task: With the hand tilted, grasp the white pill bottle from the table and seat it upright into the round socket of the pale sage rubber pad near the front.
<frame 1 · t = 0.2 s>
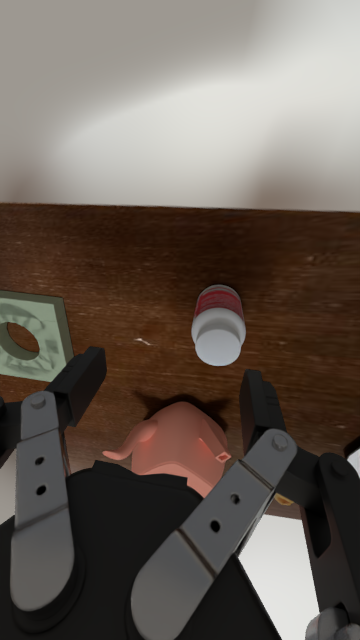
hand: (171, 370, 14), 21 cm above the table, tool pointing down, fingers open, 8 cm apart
pill bottle: (218, 303, 35), on the table
pastry: (289, 477, 51), on the table
socket pad: (27, 334, 43), on the table
teapot: (179, 424, 48), on the table
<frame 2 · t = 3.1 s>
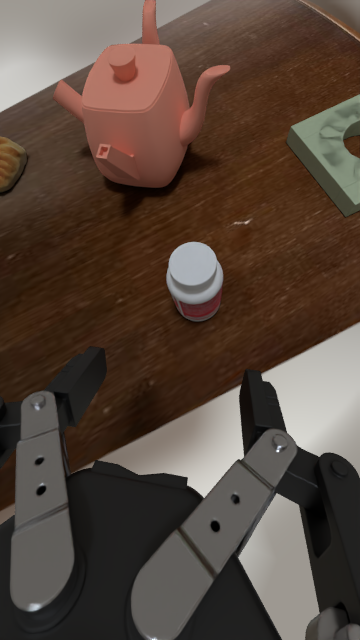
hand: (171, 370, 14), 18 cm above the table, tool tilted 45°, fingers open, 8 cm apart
pill bottle: (198, 301, 34), on the table
pastry: (11, 172, 45), on the table
teapot: (151, 157, 42), on the table
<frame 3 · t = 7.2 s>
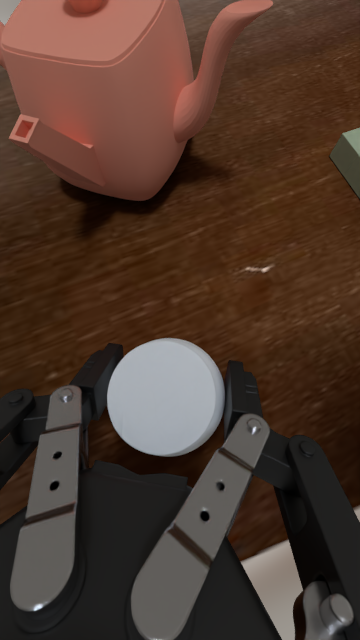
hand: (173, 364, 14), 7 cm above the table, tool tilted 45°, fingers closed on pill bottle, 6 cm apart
pill bottle: (177, 392, 21), on the table, touching gripper
teapot: (134, 155, 29), on the table
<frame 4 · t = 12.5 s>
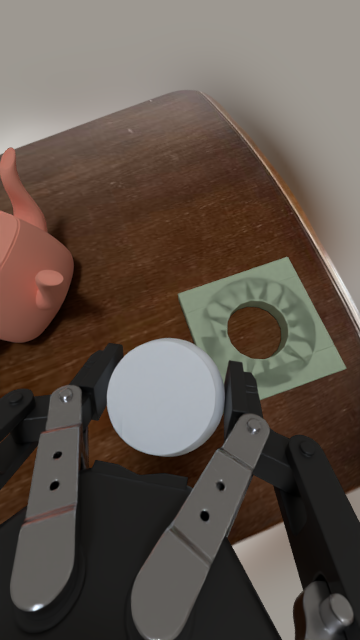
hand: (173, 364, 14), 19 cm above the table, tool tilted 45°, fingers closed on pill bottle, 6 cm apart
pill bottle: (177, 392, 21), point 11 cm above the table, touching gripper
socket pad: (252, 333, 33), on the table
teapot: (34, 290, 37), on the table
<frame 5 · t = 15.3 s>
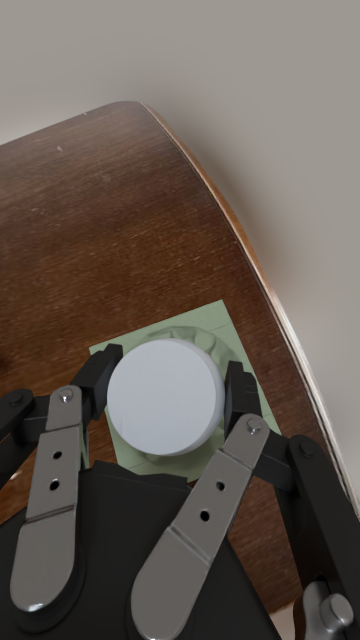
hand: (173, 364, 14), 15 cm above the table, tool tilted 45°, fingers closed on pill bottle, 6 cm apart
pill bottle: (177, 392, 21), point 7 cm above the table, touching gripper
socket pad: (181, 392, 28), on the table
when the fingers open (7 cm above the table, at t = 17.8 s): pill bottle stays where it is, resting in socket pad.
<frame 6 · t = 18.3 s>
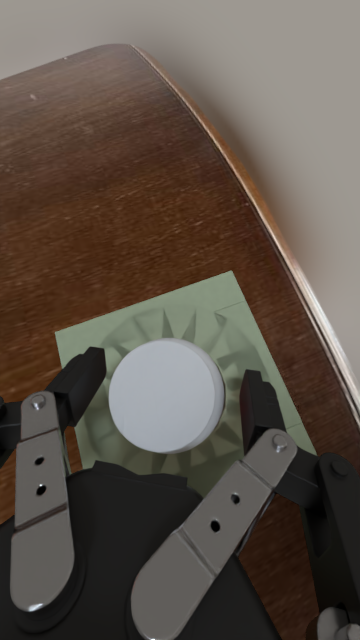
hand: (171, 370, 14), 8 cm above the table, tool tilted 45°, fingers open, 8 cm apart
pill bottle: (177, 391, 21), resting in socket pad
socket pad: (177, 392, 21), on the table
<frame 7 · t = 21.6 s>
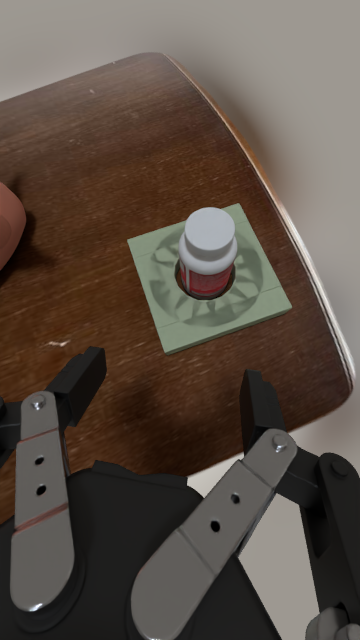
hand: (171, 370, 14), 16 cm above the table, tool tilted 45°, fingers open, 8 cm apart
pill bottle: (204, 280, 33), resting in socket pad
socket pad: (204, 280, 33), on the table
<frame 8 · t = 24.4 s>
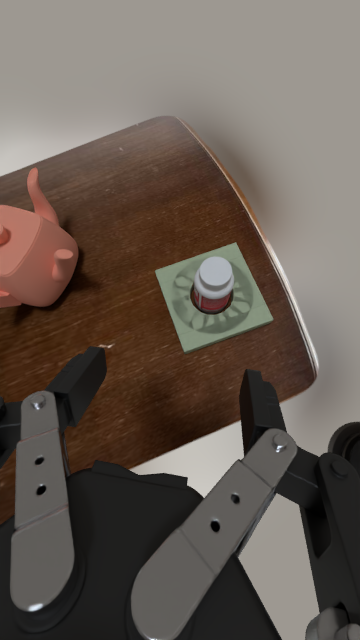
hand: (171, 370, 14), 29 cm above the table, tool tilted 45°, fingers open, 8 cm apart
pill bottle: (210, 299, 45), resting in socket pad
socket pad: (210, 299, 45), on the table
teapot: (49, 271, 49), on the table
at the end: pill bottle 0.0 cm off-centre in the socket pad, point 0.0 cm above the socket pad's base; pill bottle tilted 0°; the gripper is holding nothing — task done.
